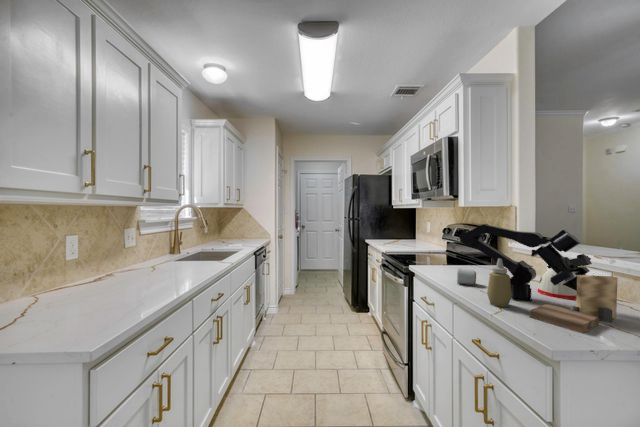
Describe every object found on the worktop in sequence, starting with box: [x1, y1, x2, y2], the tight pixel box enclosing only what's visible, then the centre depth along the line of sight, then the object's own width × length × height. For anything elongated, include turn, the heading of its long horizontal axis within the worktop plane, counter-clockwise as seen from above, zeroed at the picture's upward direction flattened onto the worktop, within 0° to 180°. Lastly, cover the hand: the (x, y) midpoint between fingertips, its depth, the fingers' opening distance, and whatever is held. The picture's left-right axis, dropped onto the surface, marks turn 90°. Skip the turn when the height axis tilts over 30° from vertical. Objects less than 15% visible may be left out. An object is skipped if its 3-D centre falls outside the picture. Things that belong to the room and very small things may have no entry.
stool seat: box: [529, 303, 600, 334], centre depth 94 cm, size 13×14×2 cm
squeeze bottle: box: [486, 259, 512, 308], centre depth 109 cm, size 8×8×18 cm
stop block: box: [599, 307, 613, 323], centre depth 95 cm, size 2×2×4 cm
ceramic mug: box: [456, 267, 477, 286], centre depth 140 cm, size 11×8×8 cm
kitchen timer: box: [537, 268, 577, 300], centre depth 123 cm, size 14×14×15 cm
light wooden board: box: [569, 274, 619, 319], centre depth 97 cm, size 13×2×14 cm, turn 83°
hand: (591, 296), depth 99 cm, fingers closed
